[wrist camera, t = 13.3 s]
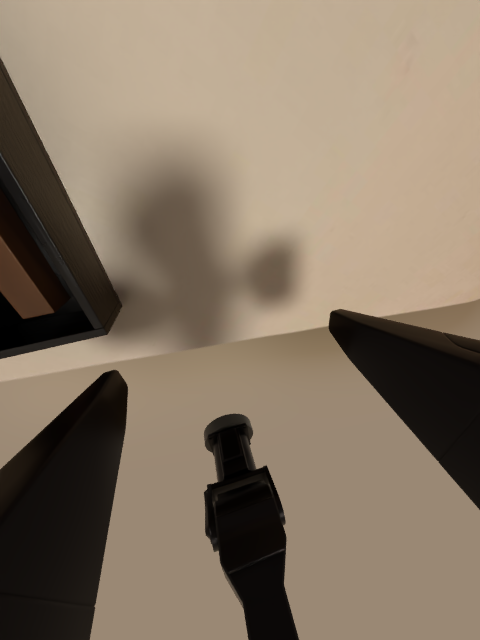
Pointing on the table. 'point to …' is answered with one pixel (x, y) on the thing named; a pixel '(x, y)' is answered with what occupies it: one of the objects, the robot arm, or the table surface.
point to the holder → (48, 240)
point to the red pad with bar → (25, 269)
